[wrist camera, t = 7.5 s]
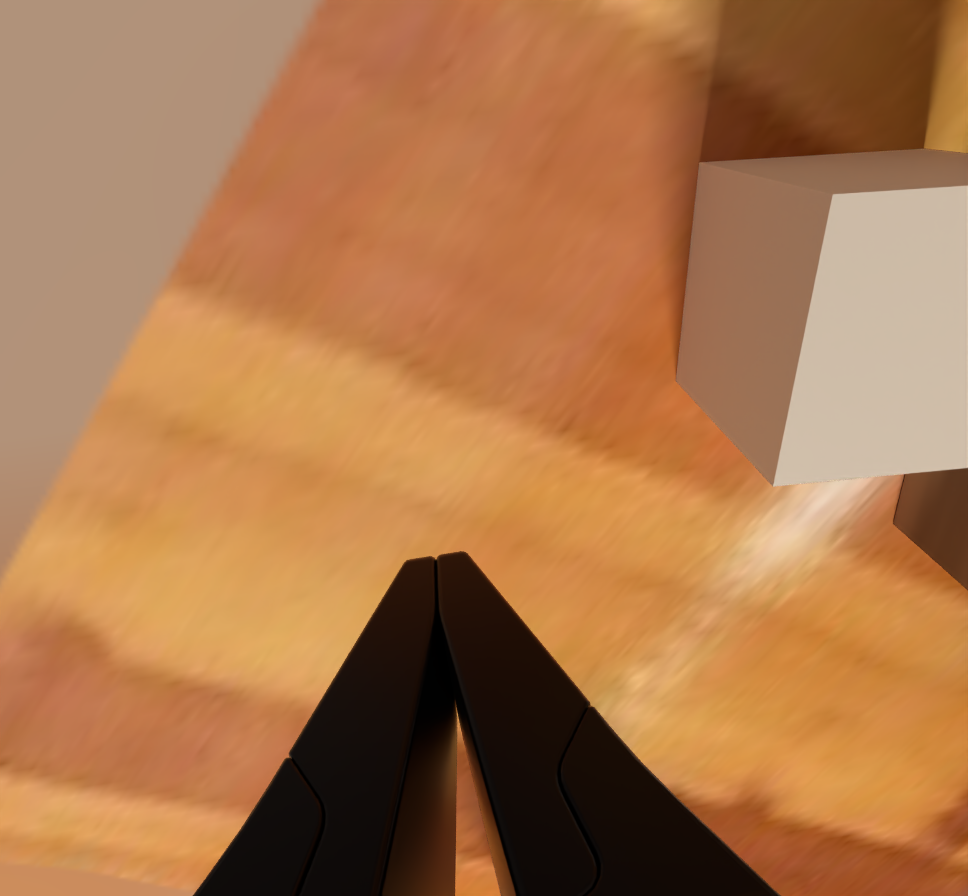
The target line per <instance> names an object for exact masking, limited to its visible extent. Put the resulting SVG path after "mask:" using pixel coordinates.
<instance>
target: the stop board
mask: <svg viewBox="0 0 968 896" xmlns="http://www.w3.org/2000/svg"><path fill="white" fill-rule="evenodd" d="M893 524H894V525H895V526H896V527H897V528H898V529H899V530H901V531H902V532H903V533H904V534H905V535H906V536H907V537H908V538H910V539H911V540H912V541H913V542H914V543H915V544H916V545H917V546H919V547H920V548H921V549H922V550H923V551H924V552H925V553H926V554H928V555H929V556H930V557H931V558H932V559H933V560H934V561H935V562H937V563H938V564H939V565H940V566H941V567H942V568H943V569H944V570H946V571H947V572H948V573H949V574H950V575H951V576H952V577H953V578H955V579H956V580H957V581H958V582H959V583H960V584H961V585H962V586H964V587H965V588H966V589H967V590H968V468H961V469H951V470H941V471H930V472H920V473H909V474H905V478H904V482H903V486H902V490H901V494H900V498H899V502H898V506H897V511H896V515H895V519H894V523H893Z"/></svg>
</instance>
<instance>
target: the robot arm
mask: <svg viewBox="0 0 968 896" xmlns="http://www.w3.org/2000/svg"><path fill="white" fill-rule="evenodd" d="M456 707H457V711H456ZM457 712H458V717H459V722H460V726H461V731H462V736H463V740H464V744H465V748H466V752H467V756H468V761H469V765H470V769H471V773H472V777H473V781H474V785H475V790H476V794H477V798H478V802H479V806H480V810H481V814H482V819H483V823H484V827H485V831H486V835H487V839H488V843H489V848H490V852H491V856H492V860H493V864H494V868H495V872H496V877H497V881H498V885H499V889H500V893H501V896H781V895H780V894H779V893H778V892H776V891H775V890H774V889H773V888H772V887H771V886H770V885H769V884H768V883H767V882H766V881H765V880H764V879H763V878H762V877H760V876H759V875H758V874H757V873H756V872H755V871H754V870H753V869H752V868H751V867H750V866H749V865H748V864H747V863H746V862H745V861H744V860H742V859H741V858H740V857H739V856H738V855H737V854H736V853H735V852H734V851H733V850H732V849H731V848H730V847H729V846H728V845H727V844H726V843H725V842H723V841H722V840H721V839H720V838H719V837H718V836H717V835H716V834H715V833H714V832H713V831H712V830H711V829H710V828H709V827H708V826H707V825H705V824H704V823H703V822H702V821H701V820H700V819H699V818H698V817H697V816H696V815H695V814H694V813H693V812H692V811H691V810H690V809H689V808H688V807H686V806H685V805H684V804H683V803H682V802H681V801H680V800H679V799H678V798H677V797H676V796H675V795H674V794H673V793H672V792H671V791H670V790H669V789H668V788H667V787H666V786H665V785H664V784H663V783H662V782H661V781H660V780H659V779H658V778H657V777H656V776H655V775H654V774H653V773H652V772H651V771H650V770H649V769H648V768H647V767H646V766H645V765H644V764H643V763H642V762H641V761H640V760H639V759H638V758H637V756H636V755H635V754H634V753H633V752H632V751H631V750H630V749H629V747H628V746H627V745H626V744H625V743H624V742H623V741H622V739H621V738H620V737H619V736H618V735H617V734H616V733H615V732H614V730H613V729H612V728H611V727H610V726H609V724H608V723H607V722H606V721H605V720H604V718H603V717H602V716H601V715H600V713H599V712H598V711H597V710H596V709H595V708H594V707H592V706H591V705H590V702H589V701H588V699H587V698H586V697H585V696H584V695H583V693H582V692H581V691H580V690H579V688H578V687H577V686H576V685H575V684H574V682H573V681H572V680H571V679H570V677H569V676H568V675H567V674H566V673H565V671H564V670H563V669H562V668H561V667H560V665H559V664H558V663H557V662H556V660H555V659H554V658H553V657H552V656H551V654H550V653H549V652H548V651H547V650H546V648H545V647H544V646H543V645H542V643H541V642H540V641H539V640H538V639H537V637H536V636H535V635H534V634H533V633H532V631H531V630H530V629H529V628H528V626H527V625H526V624H525V623H524V622H523V620H522V619H521V618H520V617H519V616H518V614H517V613H516V612H515V611H514V609H513V608H512V607H511V606H510V605H509V603H508V602H507V601H506V600H505V598H504V597H503V596H502V595H501V594H500V592H499V591H498V590H497V589H496V588H495V586H494V585H493V584H492V583H491V581H490V580H489V579H488V578H487V577H486V575H485V574H484V573H483V572H482V571H481V569H480V568H479V567H478V566H477V564H476V563H475V562H474V561H473V560H472V558H471V557H470V556H469V555H468V554H467V553H466V552H464V551H460V552H454V553H448V554H441V555H439V556H438V557H437V559H435V558H434V557H432V556H429V557H422V558H416V559H410V560H407V561H406V562H404V564H403V565H402V567H401V569H400V570H399V572H398V574H397V575H396V577H395V579H394V580H393V582H392V584H391V585H390V587H389V589H388V590H387V592H386V593H385V595H384V597H383V598H382V600H381V602H380V603H379V605H378V607H377V608H376V610H375V612H374V613H373V615H372V617H371V618H370V620H369V621H368V623H367V625H366V626H365V628H364V630H363V631H362V633H361V635H360V636H359V638H358V640H357V641H356V643H355V645H354V646H353V648H352V650H351V651H350V653H349V654H348V656H347V658H346V659H345V661H344V663H343V664H342V666H341V668H340V669H339V671H338V673H337V674H336V676H335V678H334V679H333V681H332V683H331V684H330V686H329V687H328V689H327V691H326V692H325V694H324V696H323V697H322V699H321V701H320V702H319V704H318V706H317V707H316V709H315V711H314V712H313V714H312V716H311V717H310V719H309V720H308V722H307V724H306V725H305V727H304V729H303V730H302V732H301V734H300V735H299V737H298V739H297V740H296V742H295V744H294V745H293V747H292V749H291V750H290V752H289V757H290V758H286V759H285V760H284V761H283V763H282V764H281V766H280V768H279V769H278V771H277V773H276V774H275V776H274V778H273V779H272V781H271V783H270V784H269V786H268V787H267V789H266V791H265V792H264V794H263V795H262V797H261V798H260V800H259V801H258V803H257V805H256V806H255V808H254V809H253V811H252V812H251V814H250V815H249V817H248V819H247V820H246V822H245V823H244V825H243V826H242V828H241V829H240V831H239V832H238V834H237V835H236V836H235V838H234V839H233V841H232V842H231V843H230V845H229V846H228V848H227V849H226V851H225V852H224V853H223V855H222V856H221V858H220V859H219V860H218V862H217V863H216V865H215V866H214V867H213V869H212V870H211V872H210V873H209V874H208V876H207V877H206V879H205V880H204V881H203V883H202V884H201V885H200V887H199V888H198V889H197V891H196V892H195V893H194V895H193V896H455V860H456V789H457Z"/></svg>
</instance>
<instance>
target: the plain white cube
mask: <svg viewBox="0 0 968 896" xmlns="http://www.w3.org/2000/svg"><path fill="white" fill-rule="evenodd" d="M676 382H677V383H678V384H679V385H680V386H681V387H682V388H683V390H684V391H685V392H686V393H687V394H688V395H689V396H690V397H691V398H692V399H693V400H694V401H695V403H696V404H697V405H698V406H699V407H700V408H701V409H702V410H703V411H704V412H705V413H706V414H707V416H708V417H709V418H710V419H711V420H712V421H713V422H714V423H715V424H716V425H717V426H718V427H719V429H720V430H721V431H722V432H723V433H724V434H725V435H726V436H727V437H728V438H729V439H730V440H731V442H732V443H733V444H734V445H735V446H736V447H737V448H738V449H739V450H740V451H741V452H742V453H743V455H744V456H745V457H746V458H747V459H748V460H749V461H750V462H751V463H752V464H753V465H754V466H755V468H756V469H757V470H758V471H759V472H760V473H761V474H762V475H763V476H764V477H765V478H766V479H767V481H768V482H769V483H770V484H771V485H772V486H773V487H774V486H784V485H794V484H805V483H815V482H826V481H836V480H847V479H857V478H868V477H878V476H888V475H899V474H909V473H920V472H930V471H941V470H951V469H961V468H968V153H960V152H951V151H942V150H932V149H908V150H892V151H876V152H859V153H843V154H827V155H811V156H794V157H778V158H762V159H745V160H729V161H713V162H699V169H698V178H697V188H696V197H695V206H694V216H693V225H692V234H691V244H690V253H689V262H688V272H687V281H686V290H685V300H684V309H683V318H682V328H681V337H680V346H679V356H678V365H677V374H676Z"/></svg>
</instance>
